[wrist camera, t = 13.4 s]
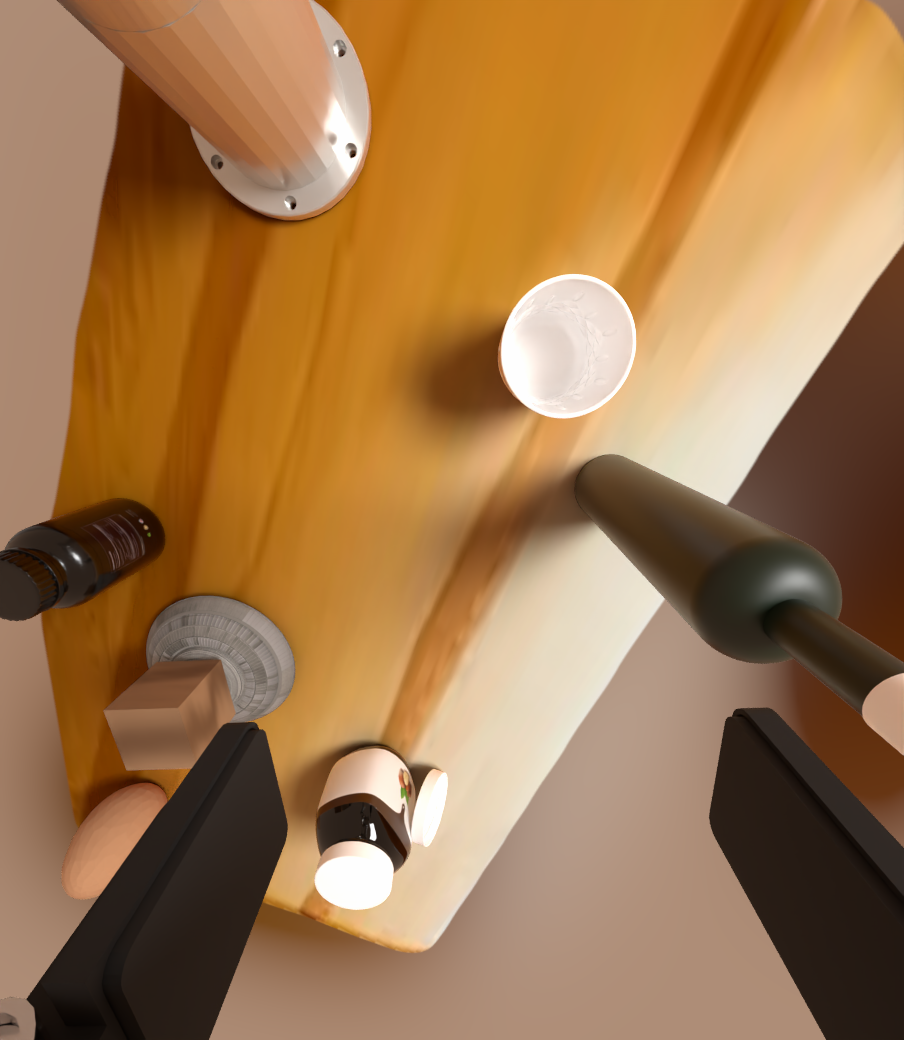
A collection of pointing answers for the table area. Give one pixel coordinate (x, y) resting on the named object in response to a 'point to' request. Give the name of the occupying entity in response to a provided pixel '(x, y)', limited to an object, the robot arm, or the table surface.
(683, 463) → the table surface
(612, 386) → the white cup
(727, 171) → the table surface
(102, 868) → the egg
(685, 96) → the table surface
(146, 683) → the walnut block
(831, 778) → the robot arm
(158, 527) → the supplement bottle
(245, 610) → the flying saucer
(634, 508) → the wine bottle
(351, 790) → the spread jar
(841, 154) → the table surface
